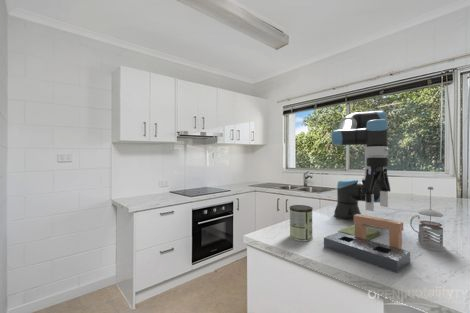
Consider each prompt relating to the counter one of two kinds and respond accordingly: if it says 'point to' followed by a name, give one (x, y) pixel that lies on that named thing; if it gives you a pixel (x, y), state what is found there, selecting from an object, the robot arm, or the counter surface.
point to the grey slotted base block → (368, 251)
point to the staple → (391, 225)
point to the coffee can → (301, 222)
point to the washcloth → (369, 231)
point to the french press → (426, 240)
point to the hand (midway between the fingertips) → (377, 208)
